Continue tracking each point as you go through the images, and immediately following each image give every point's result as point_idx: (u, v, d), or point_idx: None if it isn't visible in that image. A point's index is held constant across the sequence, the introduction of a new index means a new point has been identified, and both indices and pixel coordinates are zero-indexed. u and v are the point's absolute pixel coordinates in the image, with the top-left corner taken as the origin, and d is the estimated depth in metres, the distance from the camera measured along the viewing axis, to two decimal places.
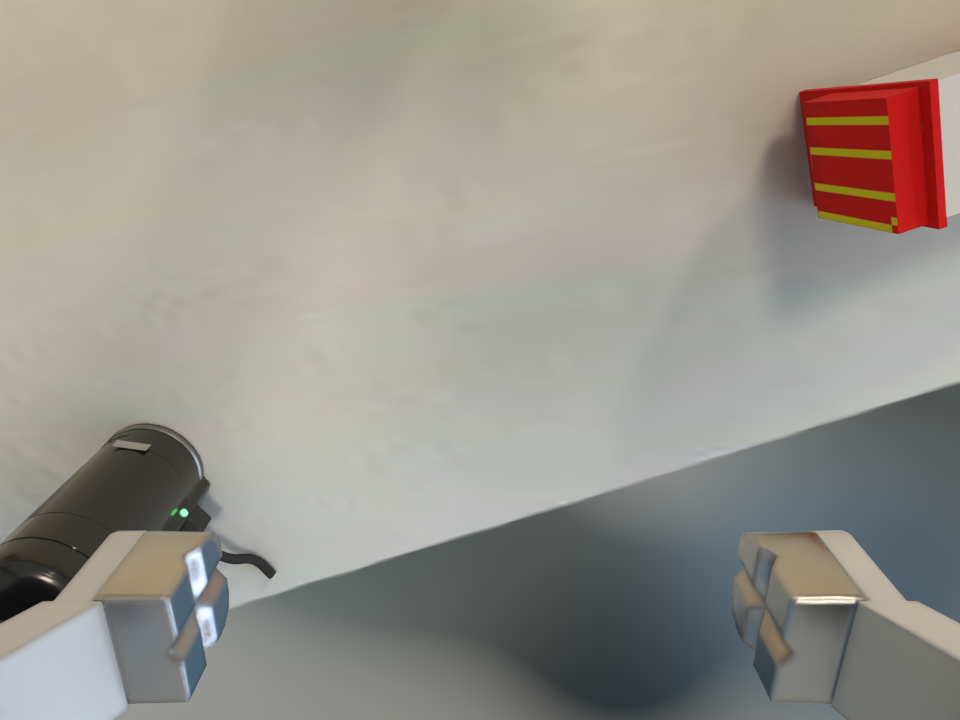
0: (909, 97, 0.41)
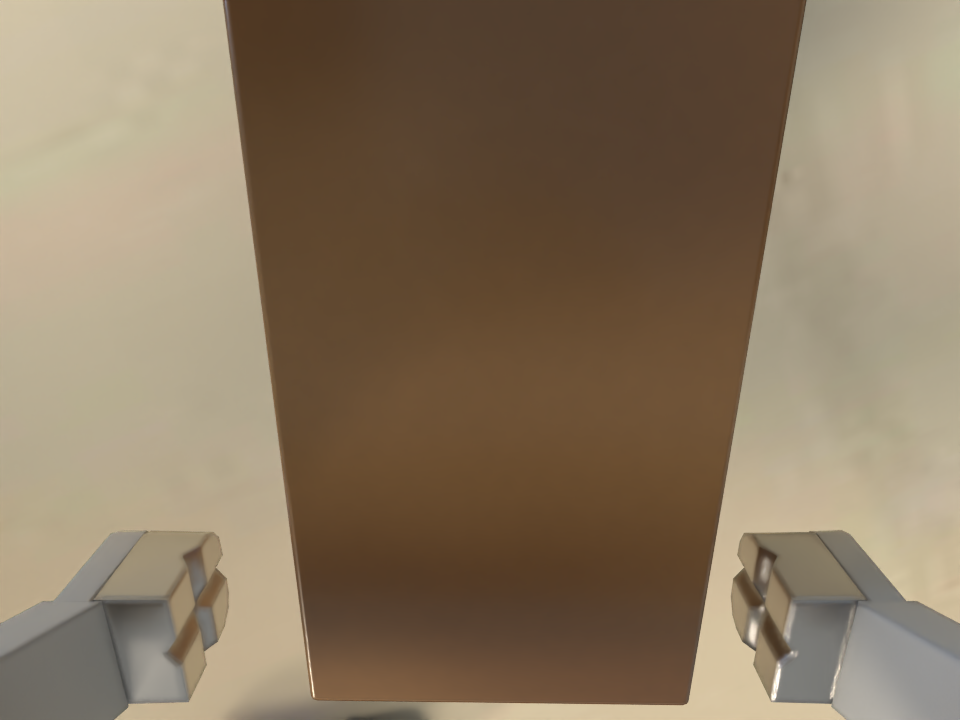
0: None
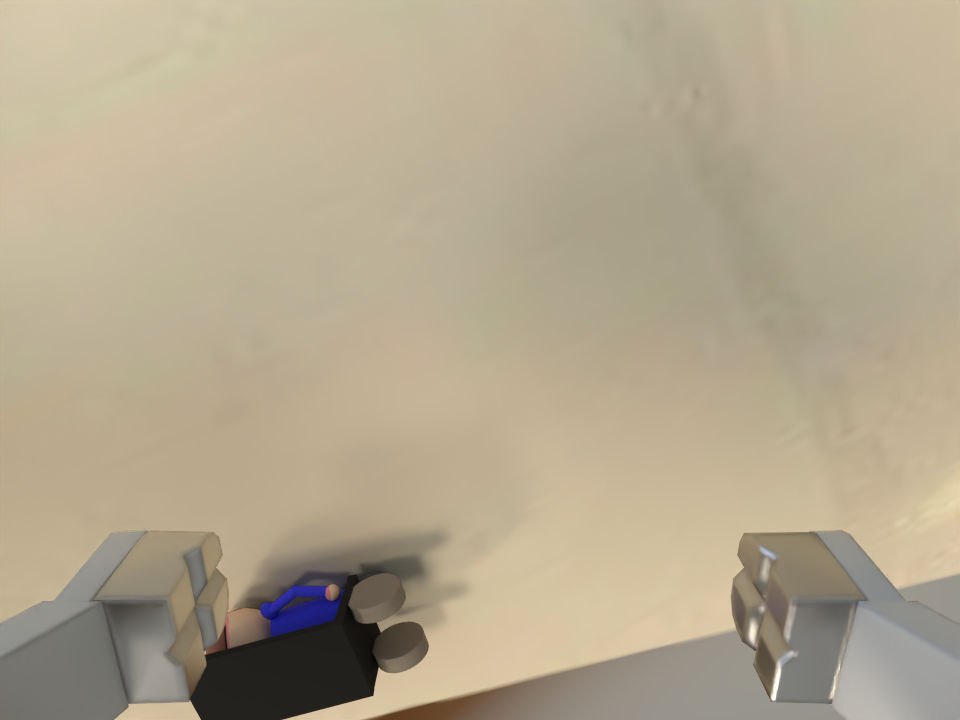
0: None
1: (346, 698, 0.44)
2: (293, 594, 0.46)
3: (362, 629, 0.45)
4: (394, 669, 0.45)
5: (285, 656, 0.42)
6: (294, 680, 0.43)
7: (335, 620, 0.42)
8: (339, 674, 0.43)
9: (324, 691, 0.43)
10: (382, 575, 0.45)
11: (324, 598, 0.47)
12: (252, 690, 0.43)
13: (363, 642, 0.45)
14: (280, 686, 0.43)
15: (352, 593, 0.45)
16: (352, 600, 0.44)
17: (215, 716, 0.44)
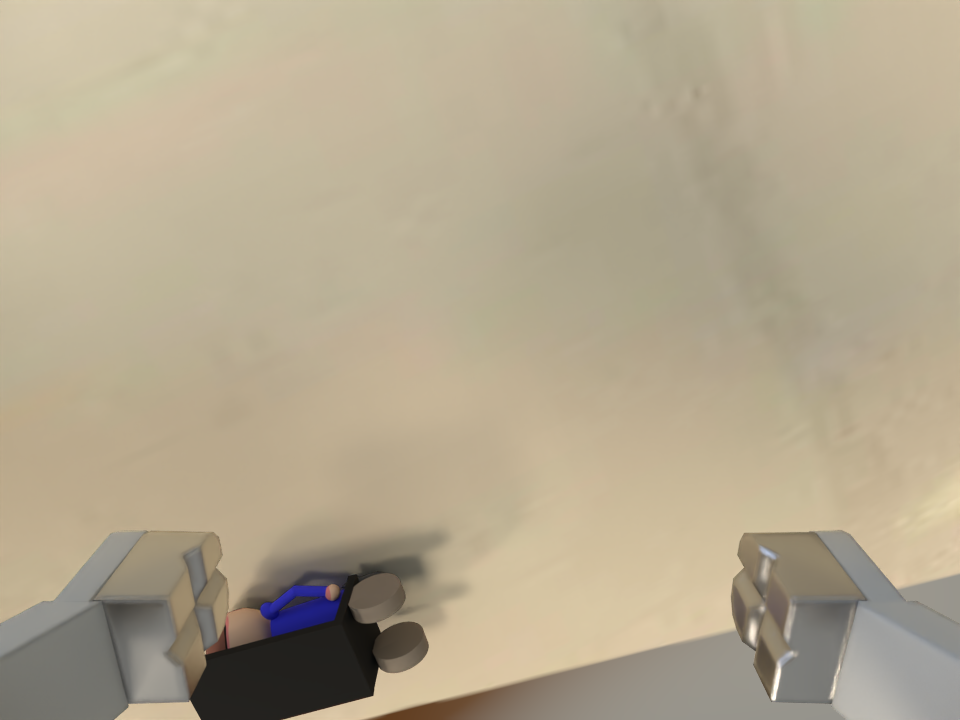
0: None
1: (346, 698, 0.44)
2: (293, 594, 0.46)
3: (362, 629, 0.45)
4: (394, 669, 0.45)
5: (285, 656, 0.42)
6: (295, 680, 0.43)
7: (335, 620, 0.42)
8: (339, 674, 0.43)
9: (324, 691, 0.43)
10: (382, 575, 0.45)
11: (324, 598, 0.47)
12: (252, 690, 0.43)
13: (363, 642, 0.45)
14: (280, 686, 0.43)
15: (352, 593, 0.45)
16: (352, 600, 0.44)
17: (215, 716, 0.44)
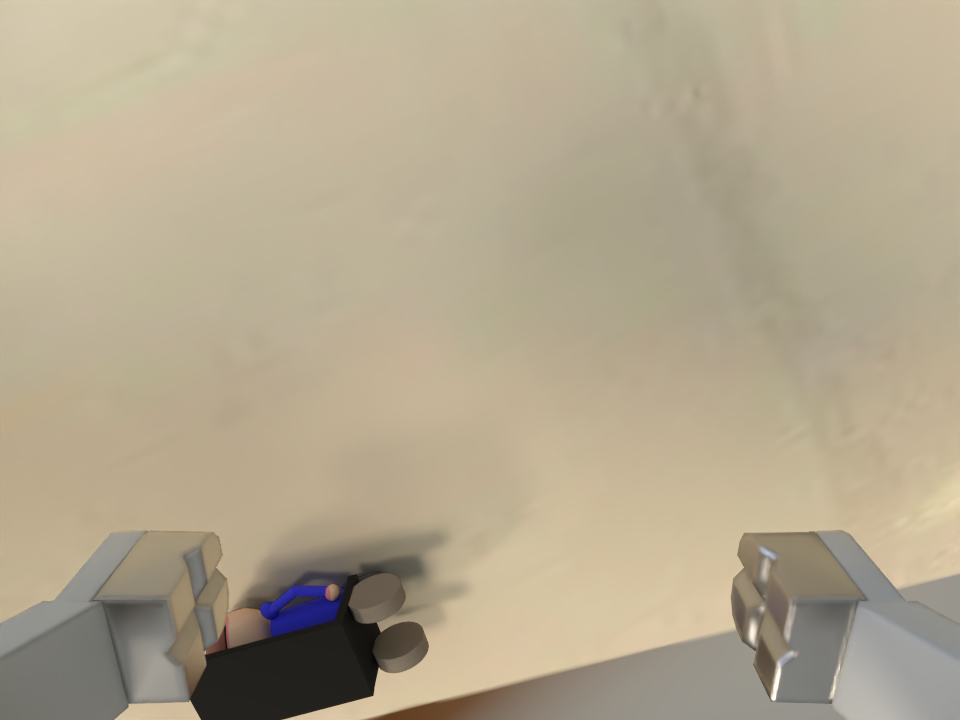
0: None
1: (346, 698, 0.44)
2: (293, 594, 0.46)
3: (362, 629, 0.45)
4: (394, 669, 0.45)
5: (285, 656, 0.42)
6: (295, 680, 0.43)
7: (335, 620, 0.42)
8: (339, 674, 0.43)
9: (324, 691, 0.43)
10: (382, 575, 0.45)
11: (324, 598, 0.47)
12: (252, 690, 0.43)
13: (363, 642, 0.45)
14: (280, 686, 0.43)
15: (352, 593, 0.45)
16: (352, 600, 0.44)
17: (215, 716, 0.44)
